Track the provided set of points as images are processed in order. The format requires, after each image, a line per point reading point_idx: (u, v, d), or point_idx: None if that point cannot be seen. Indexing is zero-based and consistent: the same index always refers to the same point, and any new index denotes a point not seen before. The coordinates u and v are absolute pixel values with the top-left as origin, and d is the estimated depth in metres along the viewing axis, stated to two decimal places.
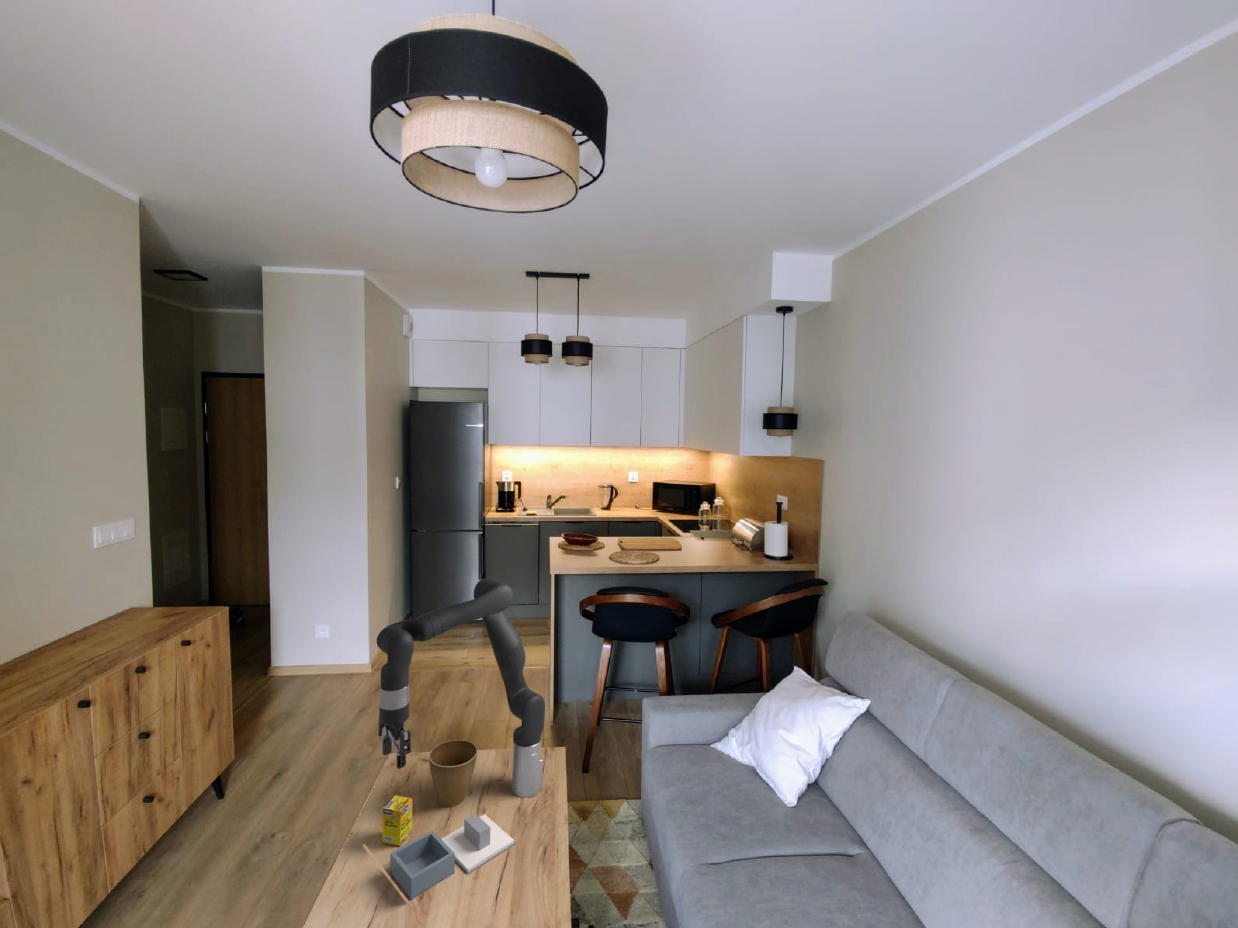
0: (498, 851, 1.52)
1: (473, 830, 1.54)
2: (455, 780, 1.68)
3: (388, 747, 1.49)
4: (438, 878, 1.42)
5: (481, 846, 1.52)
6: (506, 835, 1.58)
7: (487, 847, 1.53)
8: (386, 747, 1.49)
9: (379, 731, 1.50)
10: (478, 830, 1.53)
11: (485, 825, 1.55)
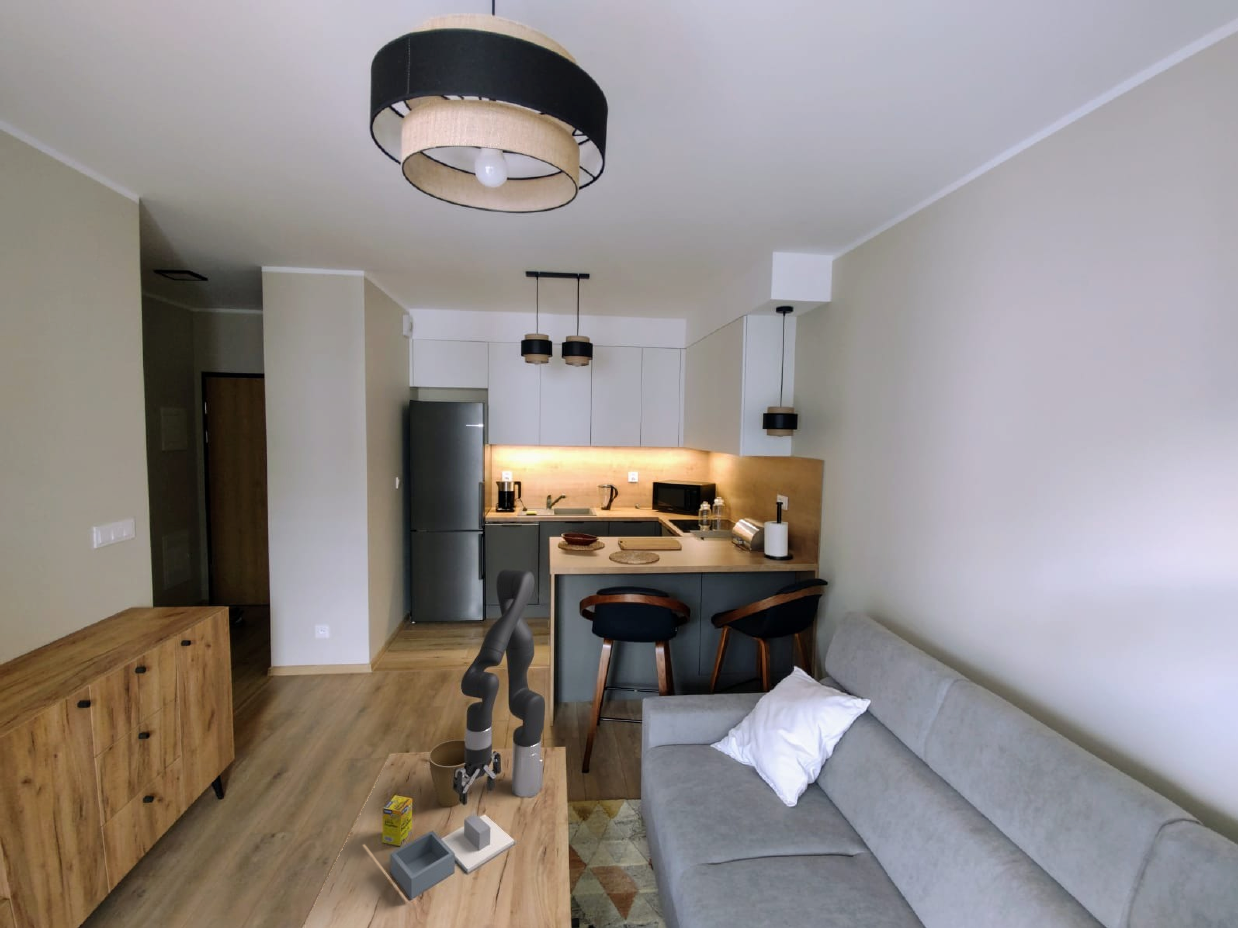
0: (498, 851, 1.52)
1: (473, 830, 1.54)
2: None
3: None
4: (438, 878, 1.42)
5: (481, 846, 1.52)
6: (506, 835, 1.58)
7: (487, 847, 1.53)
8: None
9: (459, 788, 1.50)
10: (478, 830, 1.53)
11: (485, 825, 1.55)
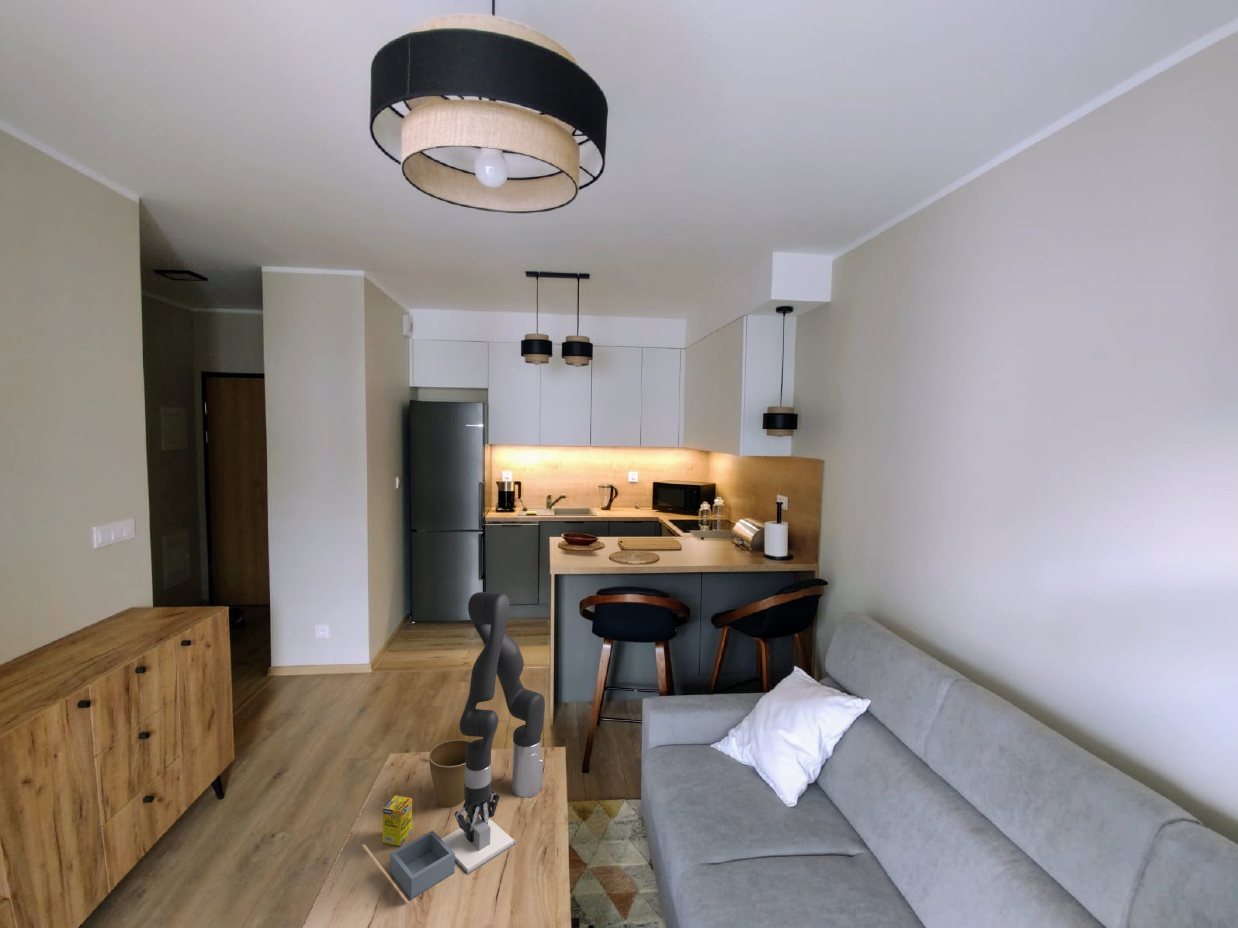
0: (498, 851, 1.52)
1: None
2: (455, 780, 1.68)
3: None
4: (438, 878, 1.42)
5: (481, 846, 1.52)
6: (506, 835, 1.58)
7: (487, 847, 1.53)
8: None
9: (465, 827, 1.51)
10: (478, 830, 1.53)
11: (485, 825, 1.55)
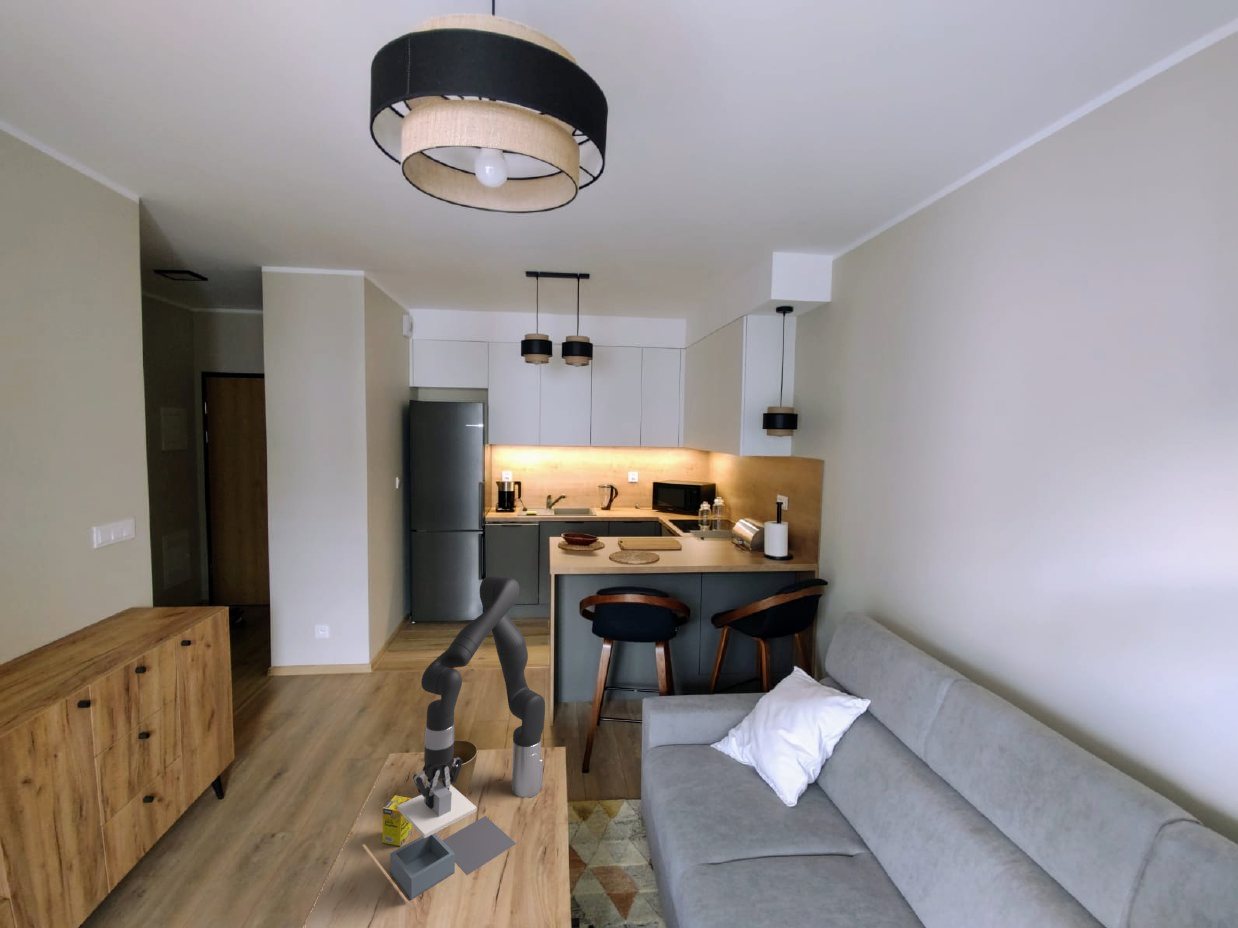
0: (459, 818, 1.43)
1: None
2: None
3: None
4: (438, 878, 1.42)
5: (441, 812, 1.43)
6: (469, 802, 1.49)
7: (447, 813, 1.44)
8: None
9: (424, 791, 1.42)
10: (438, 795, 1.43)
11: (446, 790, 1.46)
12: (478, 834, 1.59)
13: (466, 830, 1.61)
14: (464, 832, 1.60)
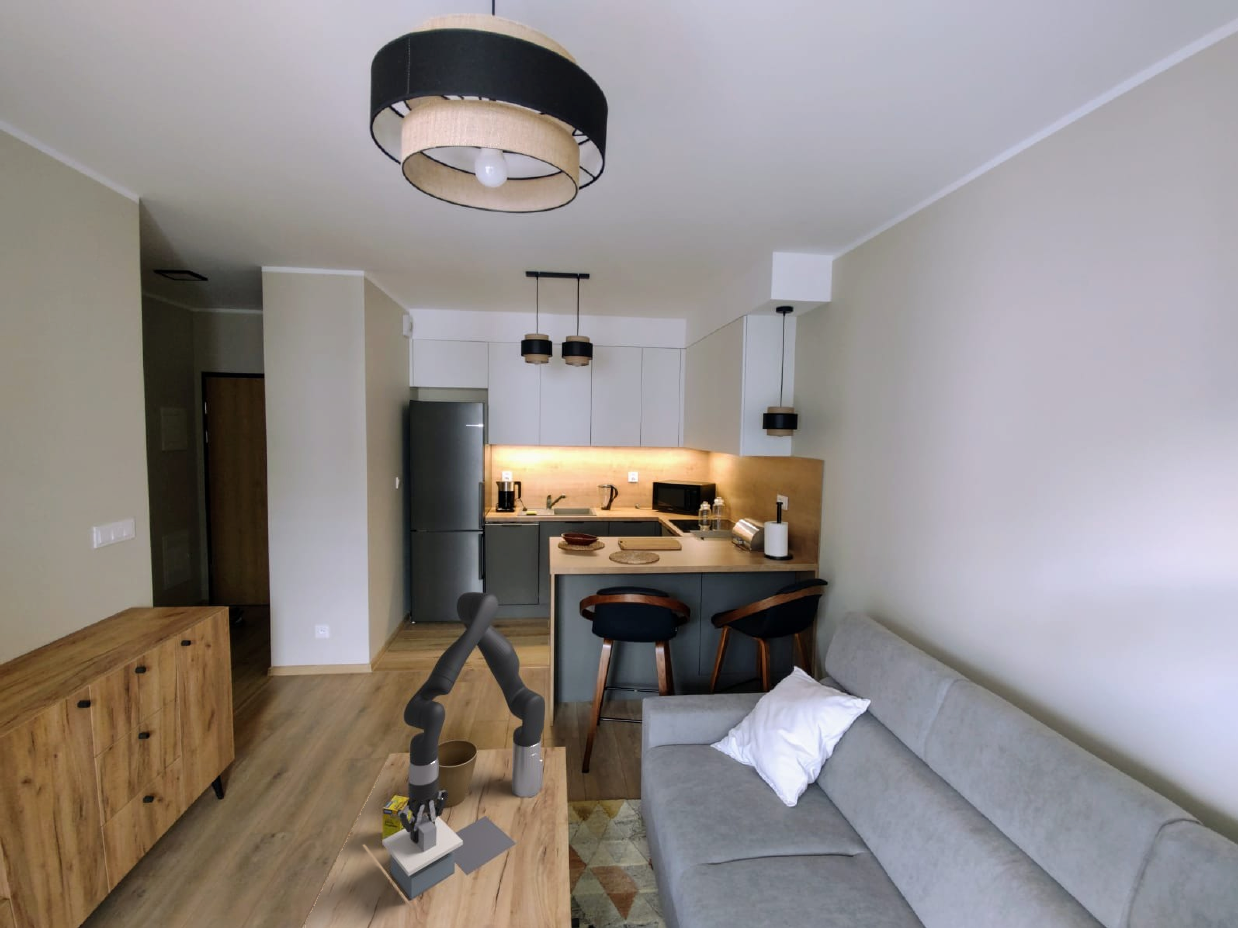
0: (444, 853, 1.41)
1: None
2: (455, 780, 1.68)
3: None
4: (438, 878, 1.42)
5: (426, 847, 1.41)
6: (455, 835, 1.47)
7: (433, 848, 1.42)
8: None
9: (408, 827, 1.40)
10: (423, 830, 1.41)
11: (431, 825, 1.43)
12: (478, 834, 1.59)
13: (466, 830, 1.61)
14: (464, 832, 1.60)
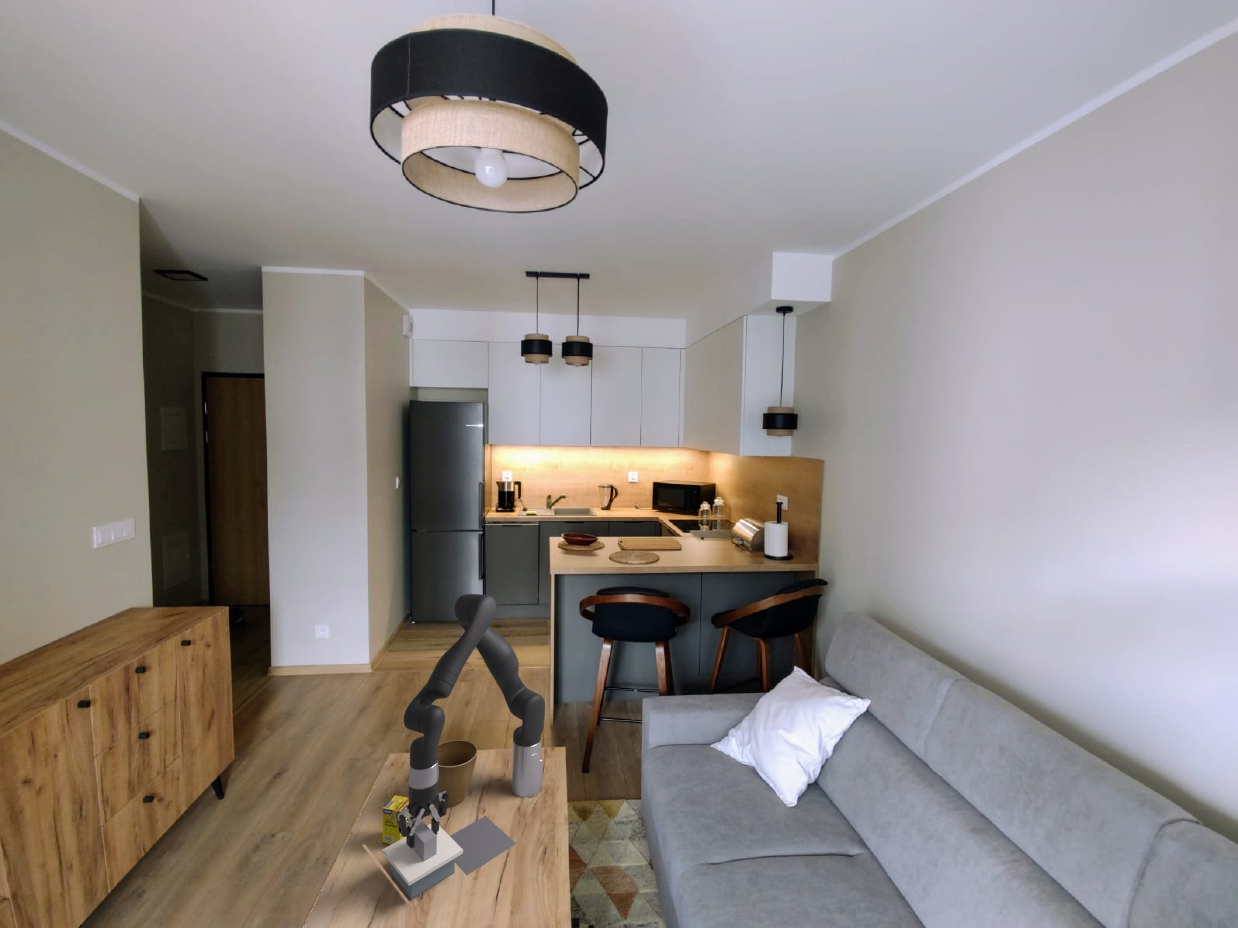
0: (444, 862, 1.41)
1: (418, 839, 1.43)
2: (455, 780, 1.68)
3: None
4: (438, 878, 1.42)
5: (426, 856, 1.41)
6: (455, 844, 1.47)
7: (433, 857, 1.42)
8: None
9: (404, 831, 1.39)
10: (423, 840, 1.41)
11: (431, 834, 1.44)
12: (478, 834, 1.59)
13: (466, 830, 1.61)
14: (464, 832, 1.60)
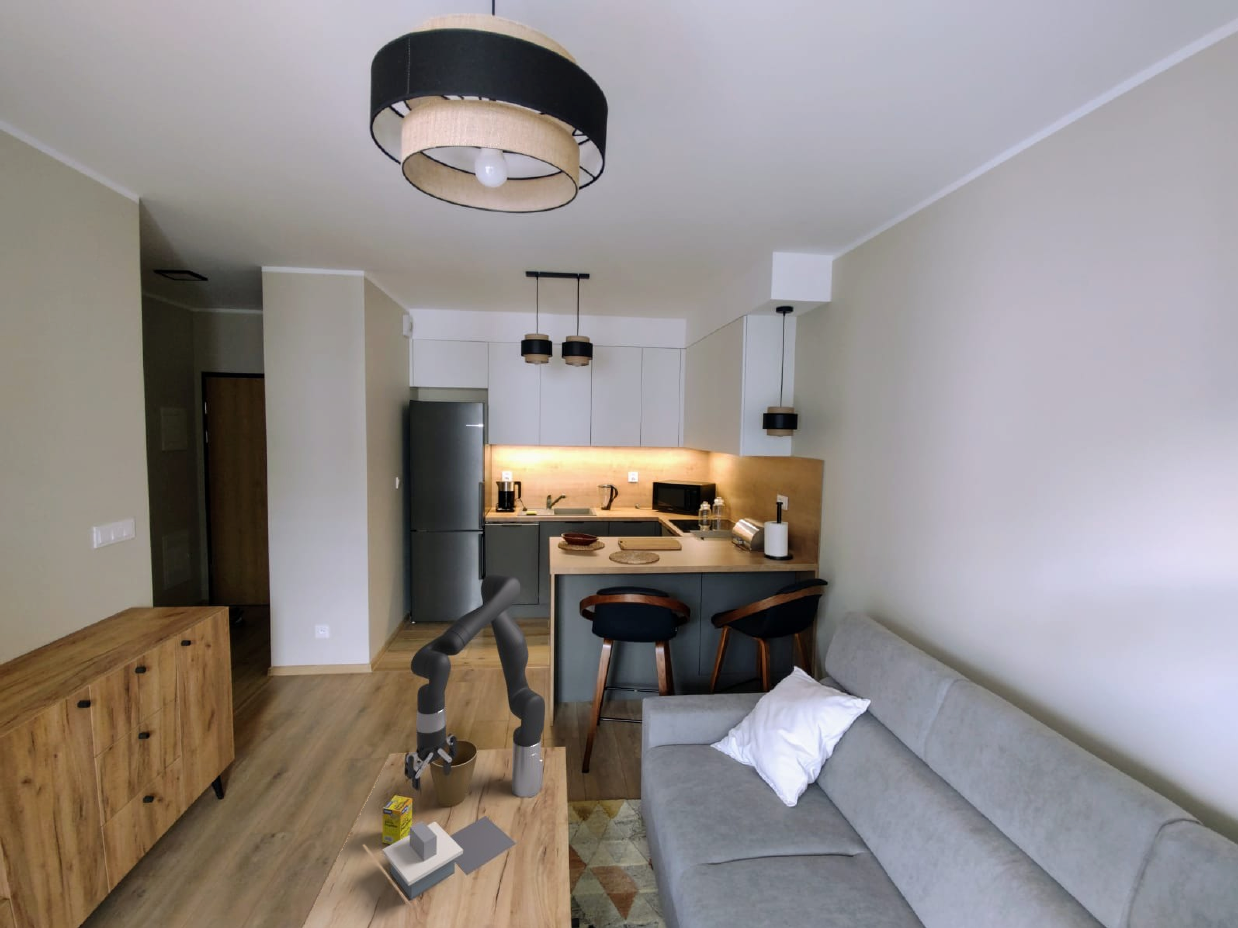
0: (444, 862, 1.41)
1: (418, 839, 1.43)
2: (455, 780, 1.68)
3: None
4: (438, 878, 1.42)
5: (426, 856, 1.41)
6: (455, 844, 1.47)
7: (433, 857, 1.42)
8: None
9: (411, 773, 1.42)
10: (423, 840, 1.41)
11: (431, 834, 1.44)
12: (478, 834, 1.59)
13: (466, 830, 1.61)
14: (464, 832, 1.60)
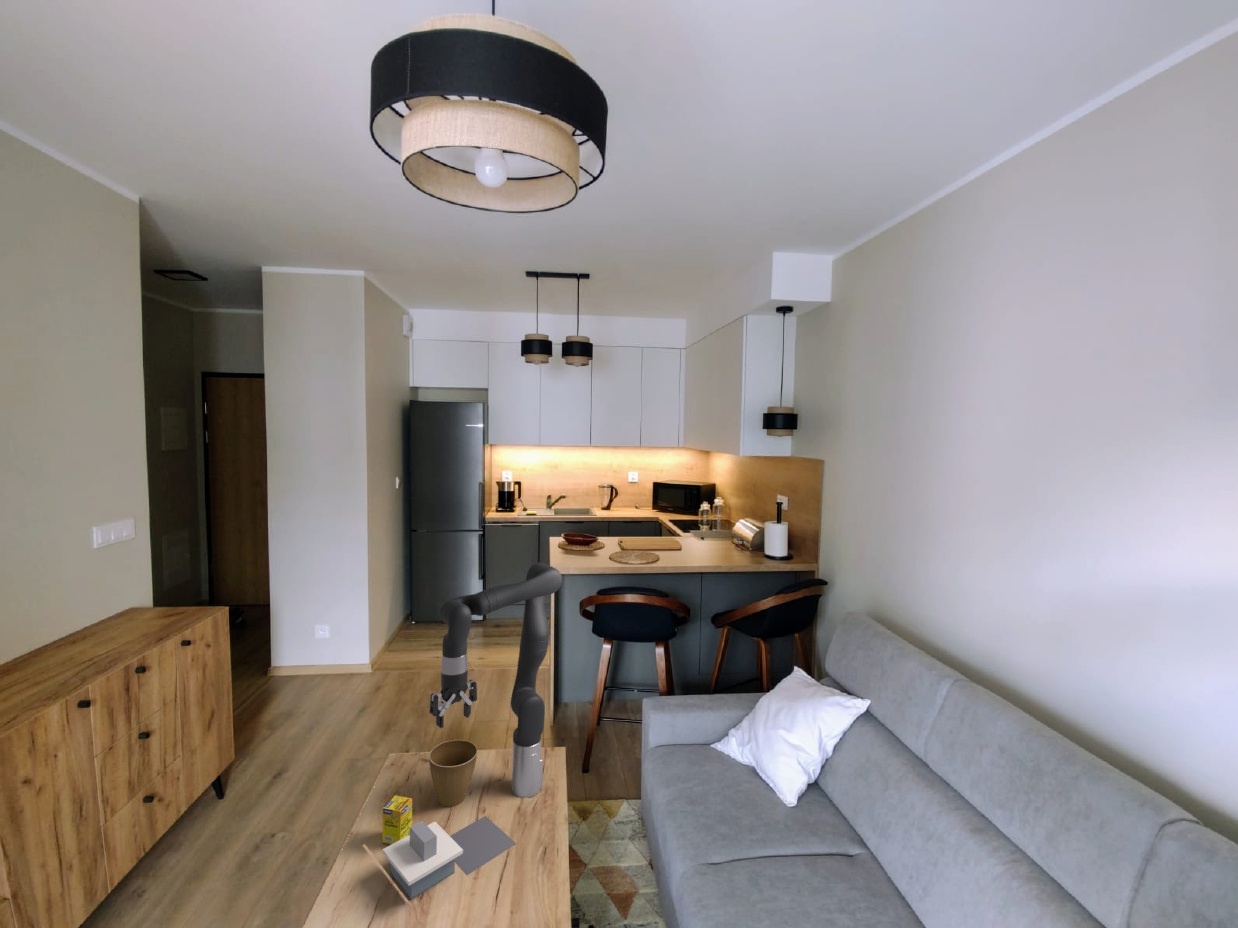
0: (444, 862, 1.41)
1: (418, 839, 1.43)
2: (455, 780, 1.68)
3: None
4: (438, 878, 1.42)
5: (426, 856, 1.41)
6: (455, 844, 1.47)
7: (433, 857, 1.42)
8: None
9: (435, 711, 1.56)
10: (423, 840, 1.41)
11: (431, 834, 1.44)
12: (478, 834, 1.59)
13: (466, 830, 1.61)
14: (464, 832, 1.60)
